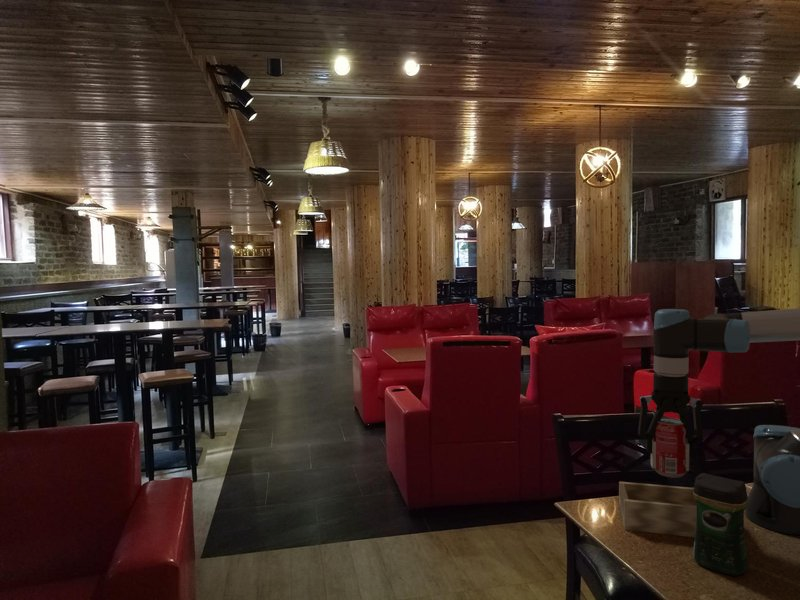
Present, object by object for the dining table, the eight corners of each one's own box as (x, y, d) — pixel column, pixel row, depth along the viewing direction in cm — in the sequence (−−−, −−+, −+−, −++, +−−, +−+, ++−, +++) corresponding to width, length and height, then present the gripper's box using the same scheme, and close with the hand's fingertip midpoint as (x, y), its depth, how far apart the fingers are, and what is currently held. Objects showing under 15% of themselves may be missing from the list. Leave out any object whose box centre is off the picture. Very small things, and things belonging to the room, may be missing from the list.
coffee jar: (751, 565, 111) (752, 478, 110) (741, 581, 105) (742, 489, 104) (700, 549, 117) (700, 466, 116) (688, 563, 112) (688, 477, 111)
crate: (714, 517, 132) (714, 489, 132) (729, 541, 121) (729, 510, 120) (619, 507, 138) (619, 481, 138) (624, 529, 127) (624, 500, 127)
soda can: (690, 479, 125) (691, 425, 124) (657, 477, 126) (658, 424, 125) (680, 468, 132) (681, 417, 131) (649, 466, 133) (650, 415, 132)
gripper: (712, 372, 128) (710, 465, 130) (625, 369, 134) (624, 458, 135) (721, 378, 121) (719, 477, 122) (628, 374, 127) (627, 469, 128)
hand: (669, 467), depth 129 cm, fingers closed on soda can, 6 cm apart
